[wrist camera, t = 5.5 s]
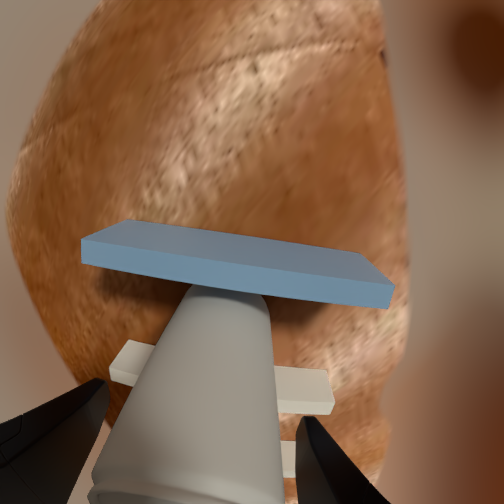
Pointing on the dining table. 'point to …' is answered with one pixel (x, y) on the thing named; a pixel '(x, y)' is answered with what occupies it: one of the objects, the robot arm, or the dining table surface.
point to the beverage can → (200, 412)
